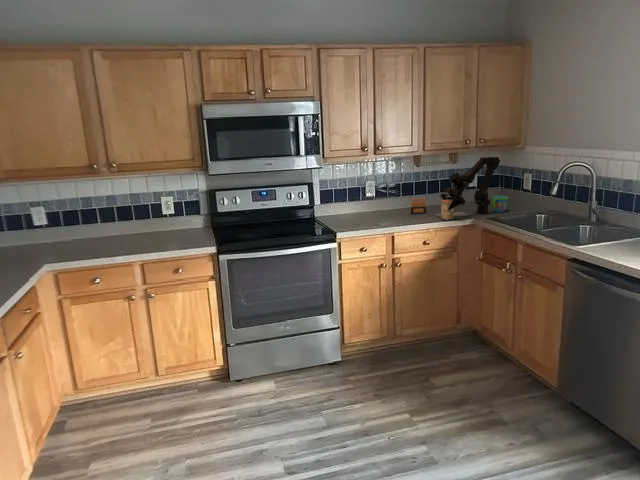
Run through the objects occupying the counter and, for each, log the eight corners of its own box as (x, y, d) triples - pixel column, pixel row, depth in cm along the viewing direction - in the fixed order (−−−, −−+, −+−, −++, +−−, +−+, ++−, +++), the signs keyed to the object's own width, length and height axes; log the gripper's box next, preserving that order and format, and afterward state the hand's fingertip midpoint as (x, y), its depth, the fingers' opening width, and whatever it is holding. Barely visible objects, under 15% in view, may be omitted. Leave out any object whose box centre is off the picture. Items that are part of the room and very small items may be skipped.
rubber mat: (461, 213, 353) (461, 211, 352) (469, 215, 342) (469, 214, 342) (434, 215, 349) (434, 214, 349) (441, 218, 338) (441, 217, 338)
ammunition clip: (410, 214, 356) (410, 197, 353) (410, 213, 358) (410, 197, 355) (426, 213, 356) (426, 196, 353) (425, 213, 357) (425, 196, 354)
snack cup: (501, 208, 361) (502, 194, 359) (513, 210, 352) (514, 196, 350) (485, 211, 354) (486, 197, 351) (497, 213, 345) (498, 198, 342)
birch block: (447, 217, 338) (447, 199, 335) (453, 218, 333) (453, 200, 330) (441, 218, 336) (441, 200, 333) (446, 219, 331) (447, 201, 328)
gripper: (442, 181, 339) (429, 199, 336) (462, 183, 323) (448, 203, 320) (451, 191, 344) (438, 209, 342) (471, 194, 328) (458, 213, 326)
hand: (445, 209), depth 332 cm, fingers closed on birch block, 5 cm apart
